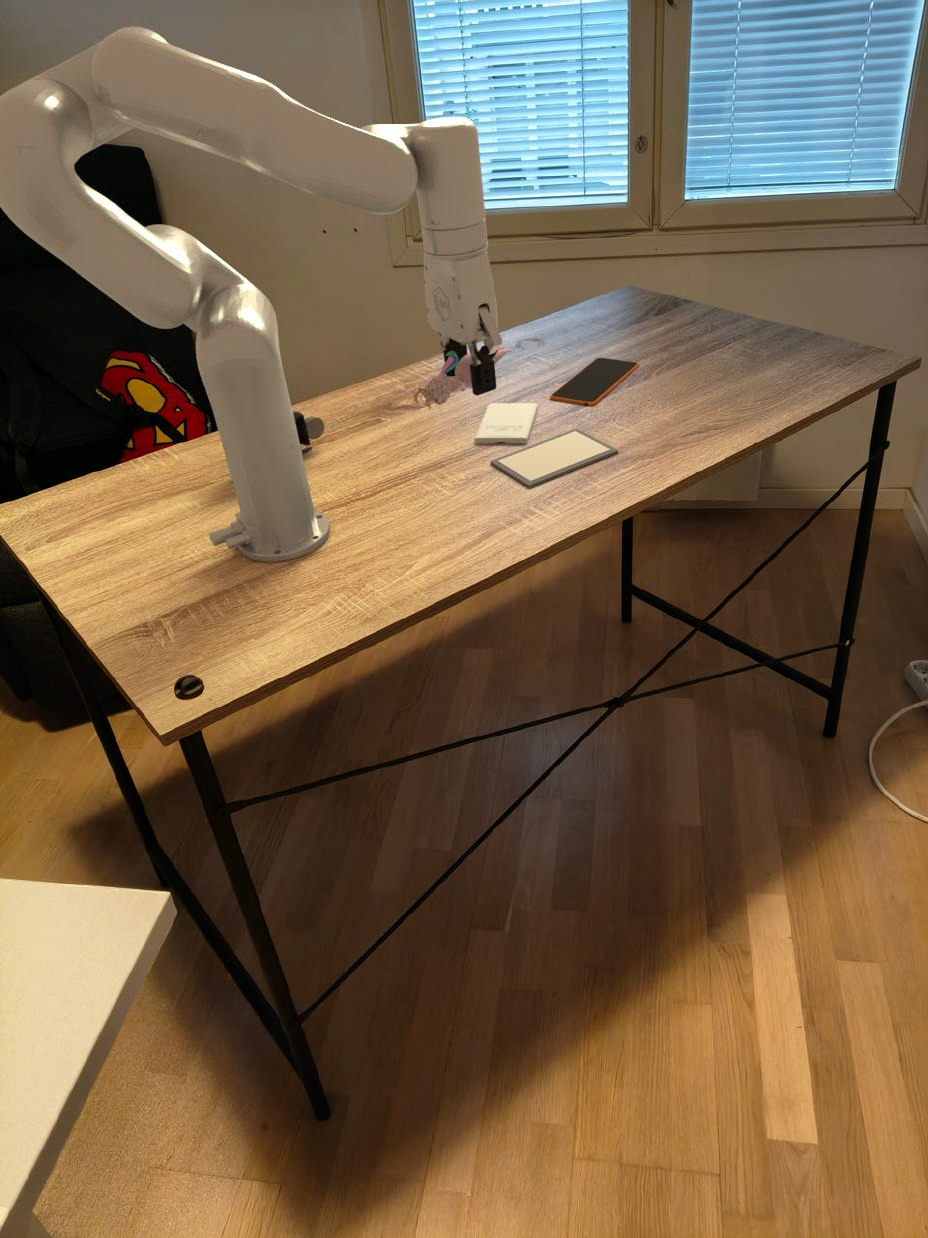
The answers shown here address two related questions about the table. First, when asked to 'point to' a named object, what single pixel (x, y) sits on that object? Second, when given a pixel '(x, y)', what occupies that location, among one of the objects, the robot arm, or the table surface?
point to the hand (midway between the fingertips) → (471, 383)
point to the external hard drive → (507, 423)
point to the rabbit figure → (452, 378)
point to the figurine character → (307, 429)
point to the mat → (553, 457)
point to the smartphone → (594, 381)
